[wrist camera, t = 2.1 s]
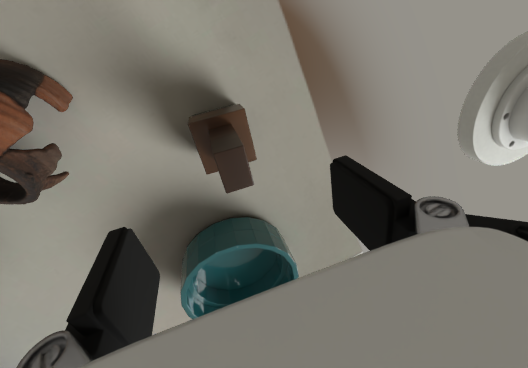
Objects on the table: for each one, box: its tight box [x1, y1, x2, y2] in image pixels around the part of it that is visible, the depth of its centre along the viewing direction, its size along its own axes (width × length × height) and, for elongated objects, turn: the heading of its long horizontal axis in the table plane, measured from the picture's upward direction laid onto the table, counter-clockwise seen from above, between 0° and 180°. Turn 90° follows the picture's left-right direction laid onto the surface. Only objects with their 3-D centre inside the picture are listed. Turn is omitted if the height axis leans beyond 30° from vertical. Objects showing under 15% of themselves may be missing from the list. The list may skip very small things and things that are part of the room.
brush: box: [188, 104, 257, 193], centre depth 20 cm, size 5×5×10 cm
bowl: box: [181, 217, 299, 319], centre depth 30 cm, size 14×14×6 cm
